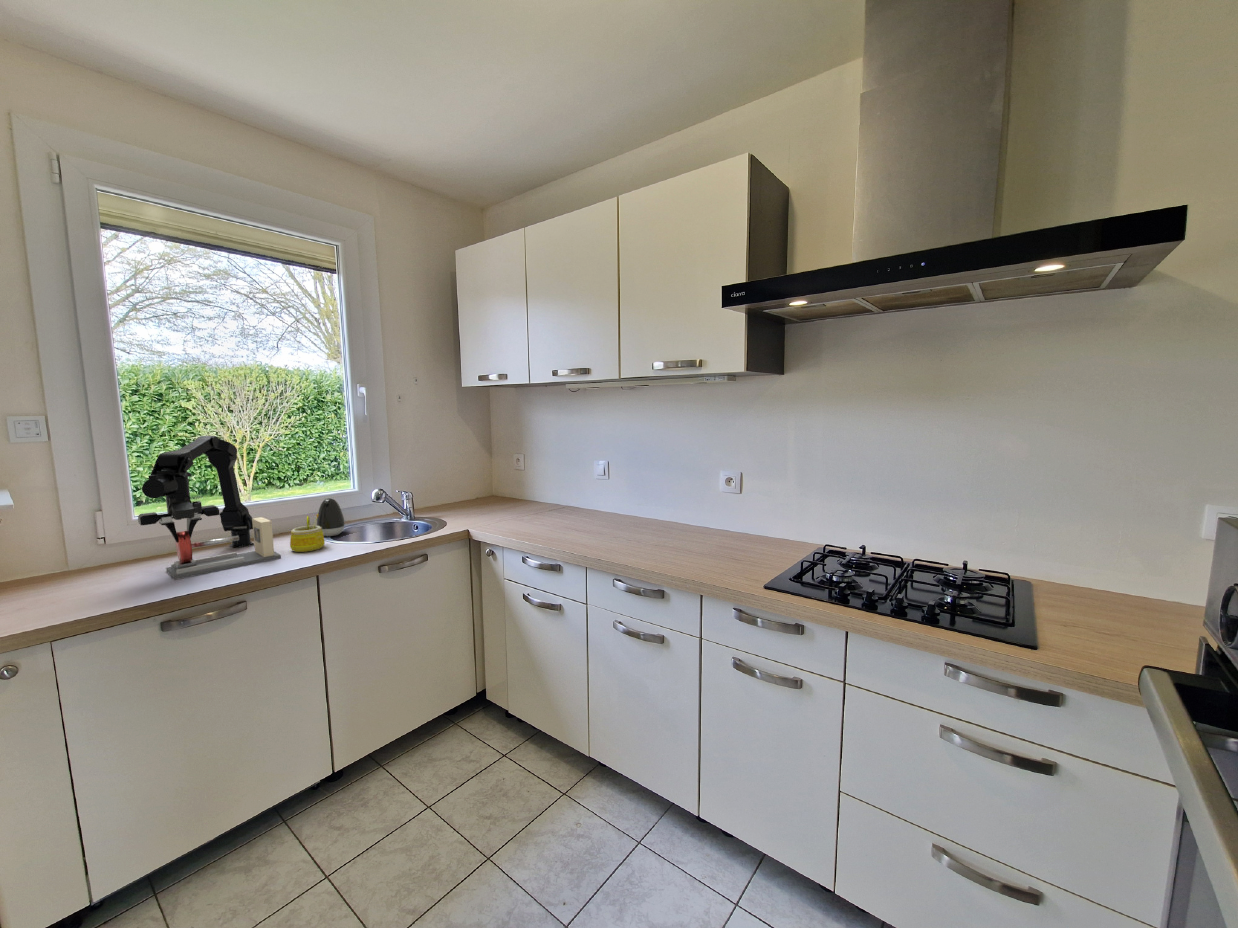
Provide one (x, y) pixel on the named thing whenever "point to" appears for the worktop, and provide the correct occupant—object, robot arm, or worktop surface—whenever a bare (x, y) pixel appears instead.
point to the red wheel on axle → (186, 547)
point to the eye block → (234, 554)
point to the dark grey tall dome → (330, 518)
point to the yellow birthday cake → (307, 537)
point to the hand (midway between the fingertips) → (183, 541)
